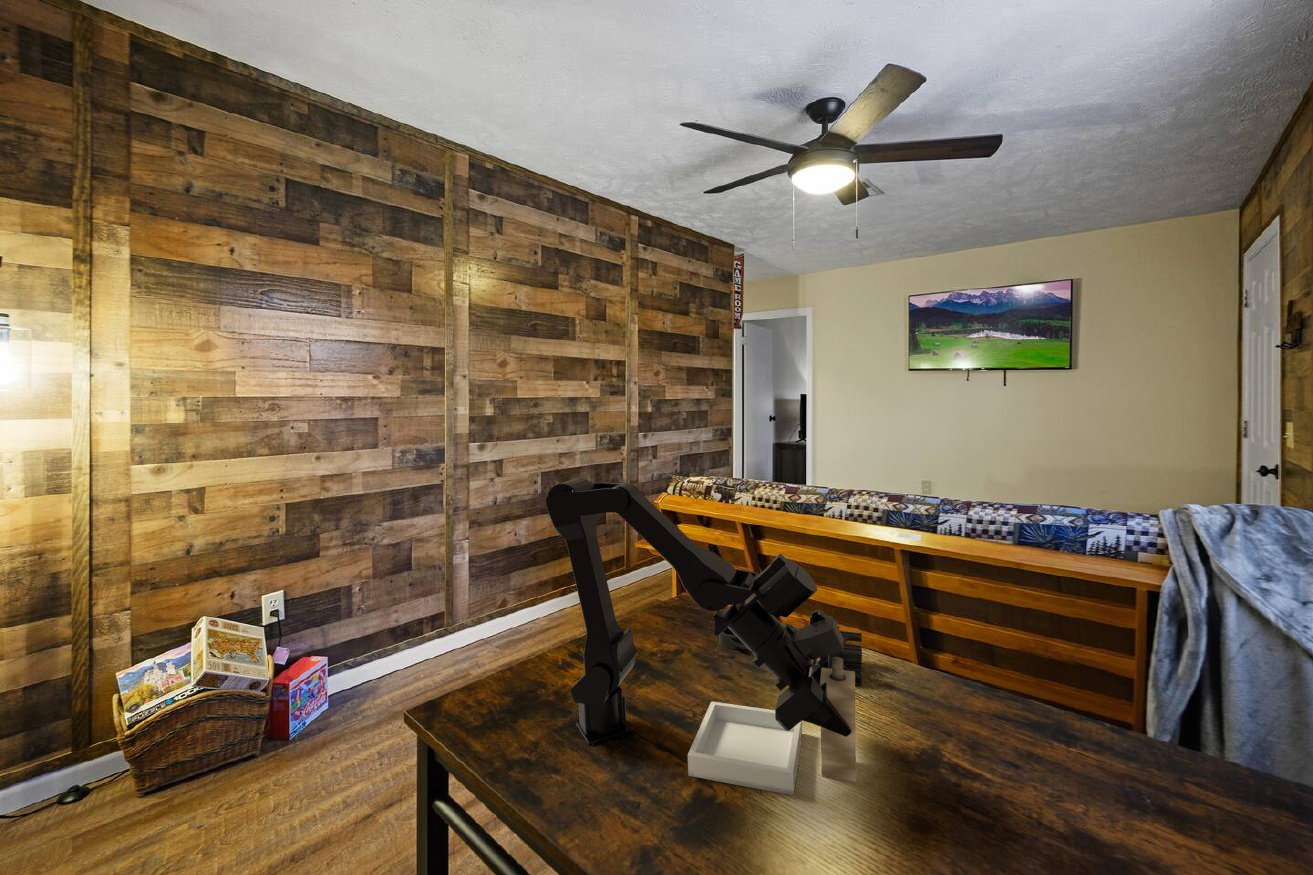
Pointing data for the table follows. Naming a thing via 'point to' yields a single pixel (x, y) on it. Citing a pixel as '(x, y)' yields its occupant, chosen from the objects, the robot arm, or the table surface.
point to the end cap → (850, 655)
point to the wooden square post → (836, 747)
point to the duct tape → (730, 640)
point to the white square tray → (745, 749)
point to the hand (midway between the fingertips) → (849, 724)
